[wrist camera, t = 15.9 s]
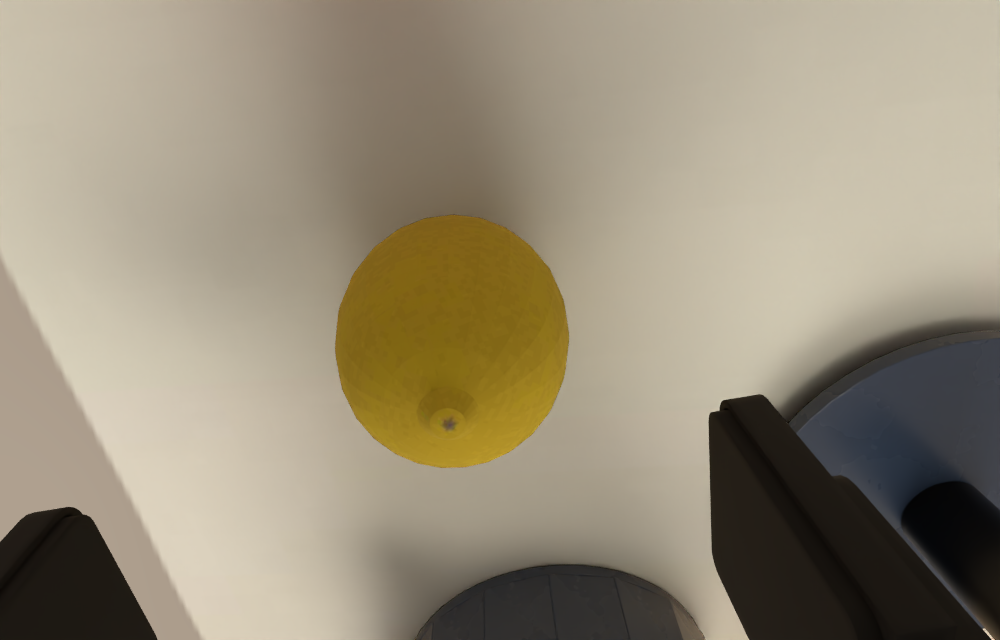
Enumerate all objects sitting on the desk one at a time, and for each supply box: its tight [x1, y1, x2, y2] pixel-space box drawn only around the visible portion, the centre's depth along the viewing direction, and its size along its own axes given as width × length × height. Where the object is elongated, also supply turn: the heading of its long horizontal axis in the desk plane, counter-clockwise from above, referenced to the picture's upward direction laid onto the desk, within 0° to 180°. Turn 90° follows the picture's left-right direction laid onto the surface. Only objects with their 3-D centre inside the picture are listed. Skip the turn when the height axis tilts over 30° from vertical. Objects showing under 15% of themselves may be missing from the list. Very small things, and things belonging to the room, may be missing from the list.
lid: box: [788, 330, 1000, 640], centre depth 20 cm, size 14×14×6 cm
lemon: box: [335, 215, 569, 468], centre depth 15 cm, size 6×6×8 cm
